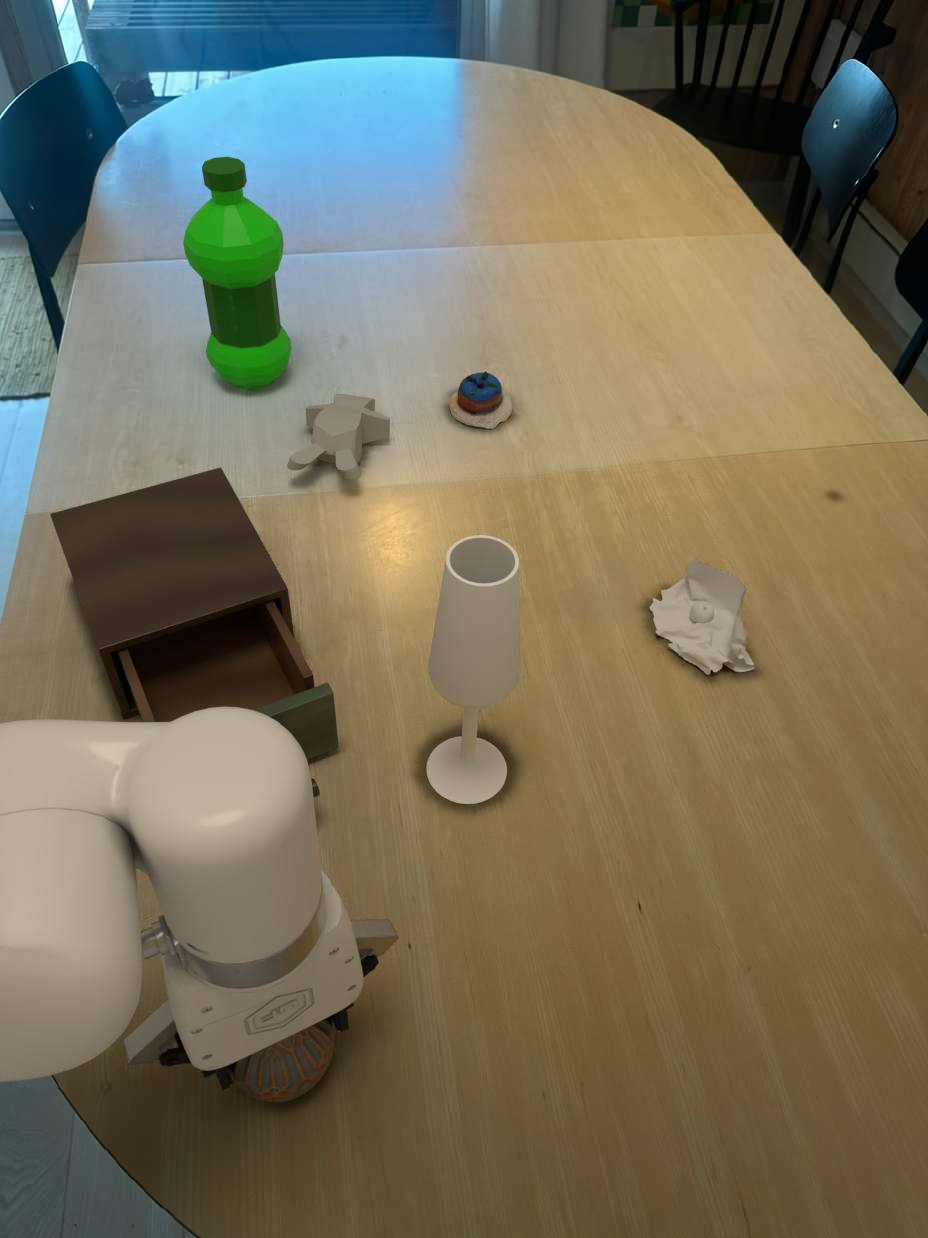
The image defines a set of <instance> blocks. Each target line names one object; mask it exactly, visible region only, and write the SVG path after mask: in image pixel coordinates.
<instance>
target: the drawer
mask: <svg viewBox="0 0 928 1238" xmlns="http://www.w3.org/2000/svg"><path fill="white" fill-rule="evenodd" d="M294 638H295V637H294ZM294 638H293V636H292V634H291V632H290V630H289V628H288V627H287V625H286V623H285V621H284V619H283V617H282V615H281V613H280V612H279V610H278V608H277V606H276V604H275V602H274V600H270V601H267V602H264V603H261V604H258V605H255V606H251V607H248V608H245V609H242V610H239V611H236V612H233V613H230V614H227V615H224V616H221V617H218V618H215V619H212V620H209V621H206V622H203V623H199V624H196V625H193V626H190V627H187V628H184V629H181V630H178V631H175V632H172V633H169V634H166V635H163V636H160V637H157V638H154V639H151V640H147V641H144V642H141V643H138V644H135V645H132V646H129V647H126V648H123V649H120V650H117V651H116V652H117V655H118V658H119V661H120V664H121V666H122V669H123V672H124V674H125V677H126V680H127V683H128V685H129V688H130V691H131V693H132V696H133V699H134V701H135V704H136V707H137V710H138V712H139V714H138V715H139V717H140V720H141V722H171V721H174V720H176V719H178V718H180V717H182V716H184V715H187V714H189V713H192V712H195V711H199V710H203V709H207V708H214V707H238V708H244V709H249V710H253V711H256V712H259V713H262V714H265V715H267V716H269V717H270V718H272V719H274V720H276V721H277V722H279V723H280V724H281V725H282V726H283V727H285V728H286V729H287V730H288V731H289V732H290V733H291V734H292V735H293V736H294V738H295V739H296V740H297V742H298V743H299V744H300V746H301V748H302V750H303V752H304V754H305V756H306V759H307V760H309V759H312V758H315V757H317V756H320V755H323V754H325V753H328V752H330V751H333V750H335V749H338V748H339V737H338V736H339V735H338V726H337V724H338V723H337V716H336V706H335V705H336V704H335V693H334V691H333V689H332V687H331V686H330V684H329V682H325V683H322V684H320V685H317V686H315V678H314V673H313V671H312V670H311V668H310V666H309V664H308V662H307V661H306V659H305V657H304V655H303V653H302V651H301V649H300V647H299V645H298V644H297V642H296V639H295V640H294ZM311 781H312V789H313V798H318V797H319V796H320V795H321V791H320V788H319V785H318V783H317V781H316V779H315V778H312V777H311Z"/></svg>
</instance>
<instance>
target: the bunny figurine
mask: <svg viewBox="0 0 928 1238" xmlns="http://www.w3.org/2000/svg"><path fill="white" fill-rule="evenodd" d="M305 422H306V426H307V427H308V428H310V429H312V436H311V444H310V445H308V446H305V447H304V448H301V449H300V450H298V451H296V452H294V453H293V454H291V455H290V458H289V459H288V461H287V463H286V468H287V469H288V470H290V471H301V470H303V469H305V468H307V467H308V466H309V465H311V463H312V462H313V461H315V460H316V459H317V460H320V461H321V462H324V463H331V464H335V467H336V468H337V470H338V471H339V472H340V475H341V476H342V477H343V478H345V479H349V480H358V479H359V478H361V477H362V471H361V469H360V466H359V462H360V461H361V458H362V453H363V444H366V443H370V442H371V443H372V442H375V441H380V440H384V439H388V438H390V435H391V417H389V416H386V415H383V414H381V413H378V412H376V398H373V397H367V396H358V395H353V394H348V393H347V394H346V393H334V394H333V402H332V403H326V404H316V405H315V404H314V405H308V406H306V407H305Z"/></svg>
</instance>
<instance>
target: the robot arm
mask: <svg viewBox="0 0 928 1238" xmlns="http://www.w3.org/2000/svg"><path fill="white" fill-rule="evenodd" d="M311 779H312V776H311V770H310V766H309V761H308V759H306V756H305V754H304V752H303V750H302V748H301V746H300V744H299V743H298V742H297V740H296V739H295V738H294V736H293V735H292V734H291V733H290V732H289V731H288V730H287V729H286V728H285V727H283V726H282V725H281V724H280V723H279V722H277V721H276V720H274V719H272V718H270V717H269V716H267V715H265V714H262V713H259V712H256V711H253V710H249V709H244V708H238V707H214V708H207V709H203V710H199V711H195V712H192V713H189V714H187V715H184V716H182V717H180V718H178V719H176V720H174V721H171V722H142V721H132V722H131V721H108V720H107V721H104V720H84V719H83V720H82V719H81V720H80V719H57V718H55V719H54V718H53V719H51V718H50V719H49V718H48V719H47V718H46V719H45V718H43V719H42V718H41V719H23V720H21V719H20V720H13V721H7V722H1V723H0V1083H5V1082H6V1083H7V1082H16V1081H17V1082H18V1081H19V1082H20V1081H28V1080H34V1079H40V1078H46V1077H50V1076H53V1075H58V1074H61V1073H63V1072H66V1071H70V1070H73V1069H75V1068H77V1067H80V1066H82V1065H83V1064H86V1063H87V1062H89V1061H91V1060H93V1059H95V1058H97V1057H98V1056H99V1055H101V1054H102V1053H104V1052H105V1051H106V1050H107V1049H109V1048H110V1047H111V1046H112V1045H114V1043H116V1041H117V1040H118V1039H119V1038H120V1037H121V1035H122V1034H123V1033H125V1030H126V1029H127V1028H128V1026H129V1025H130V1023H131V1021H132V1019H133V1017H134V1014H135V1012H136V1010H137V1008H138V1005H139V1002H140V997H141V990H142V986H143V985H142V983H143V958H144V960H146V961H147V960H149V959H150V958H153V957H155V956H157V955H159V957H160V968H161V975H162V981H163V985H164V991H165V993H166V997H167V998H166V1000H165V1001H164V1002H163V1003H162V1004H161V1005H160V1006H159V1007H158V1008H157V1009H155V1011H153V1012H152V1013H151V1014H150V1015H149V1016H148V1017H147V1018H146V1019H144V1021H142V1023H140V1024H139V1025H138V1026H137V1027H136V1028H135V1029H134V1030H133V1031H132V1032H131V1033H129V1034H128V1035H127V1036H126V1037H125V1038H123V1040H122V1046H123V1049H124V1053H125V1057H126V1060H127V1064H129V1065H147V1064H154V1063H155V1062H157V1061H159V1063H160V1066H161V1067H168V1068H169V1067H174V1066H179V1065H188V1064H189V1065H190V1064H191V1065H192V1068H193V1070H194V1072H197V1073H199V1072H201V1073H202V1075H203V1077H204V1079H206V1078H209V1077H211V1076H213V1075H215V1076H216V1078H217V1080H218V1084H219V1086H220V1088H221V1091H225V1090H227V1089H229V1088H231V1085H232V1084H234V1082H233V1081H234V1080H233V1078H232V1077H231V1075H230V1072H229V1070H228V1067H227V1065H229V1064H232V1063H234V1062H236V1061H238V1060H240V1059H243V1058H245V1057H247V1056H249V1055H251V1054H253V1053H255V1052H258V1051H260V1050H262V1049H264V1048H266V1047H268V1046H270V1045H272V1044H274V1043H276V1042H279V1041H281V1040H283V1039H285V1038H287V1037H289V1036H291V1035H293V1034H295V1033H297V1032H299V1031H301V1030H303V1029H305V1028H307V1027H309V1026H311V1025H313V1024H315V1023H317V1022H319V1021H321V1020H323V1019H325V1018H327V1017H329V1016H331V1018H332V1021H333V1026H334V1027H335V1028H334V1029H335V1030H336V1032H341V1033H343V1032H345V1031H346V1030H348V1029H349V1028H350V1027H349V1016H348V1010H349V1009H351V1008H353V1007H354V1002H355V1001H356V1000H357V999H358V998H359V996H360V995H361V992H362V990H363V987H364V978H365V977H367V975H369V974H370V973H371V972H373V971H374V970H375V969H376V968H377V966H378V965H379V963H380V962H379V959H378V958H379V957H380V956H384V954H385V953H387V952H388V951H389V949H390V948H392V946H393V945H395V943H396V942H397V941H398V940H399V939H400V937H399V934H398V933H397V930H396V928H395V927H394V925H393V923H392V920H391V919H390V918H371V919H350V915H349V913H348V910H347V908H346V905H345V903H344V901H343V900H342V898H341V896H340V895H339V893H338V891H337V889H336V887H334V885H333V883H332V881H331V880H330V879H329V877H328V875H327V874H326V872H325V871H324V870H323V869H322V865H321V855H320V846H319V838H318V837H319V835H318V827H317V818H316V808H315V807H316V806H315V799H314V798H313V789H312V781H311ZM137 870H139V871H141V872H143V873H144V874H145V875H147V877H148V878H149V881H150V884H151V886H152V888H153V891H154V894H155V896H156V899H157V901H158V904H159V907H160V910H161V912H162V914H160V915H158V916H157V918H158V920H157V921H154V922H152V923H150V927H148V928H146V929H145V928H144V929H143V930H141V918H140V903H139V893H138V892H139V891H138V880H137Z"/></svg>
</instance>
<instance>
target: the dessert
mask: <svg viewBox="0 0 928 1238" xmlns="http://www.w3.org/2000/svg"><path fill="white" fill-rule="evenodd" d="M502 386H503V385H502V383H501V382H500V380H499V379H498V377H496V376H495V375H494V374H493V373H492V374H491V372H487V371H484V372H483V371H481V372H476V373H470V375H469V374H467V376H466V377H465V378H462V380H461V382H459V386H458V389H457V391H455V392H453V394H452V395H451V397H450V398H449V403H448V405H449V411H450V414H451V416H452V417H453V419H454V420H456V421H458V422H460V423H463V424H465V425H466V426H473V427H476V428H477V427H478V428H484V429H490V430H492V429H495V428H497V426H498V425H499V424H500V423H502V422H506V421H508V420H509V417H510V416H511V415H512V412H513V409H514V408H513V407H514V406H513V401H512V398H511V395H510V394H509V392H507V391H506V390H505V389H503V387H502Z"/></svg>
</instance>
